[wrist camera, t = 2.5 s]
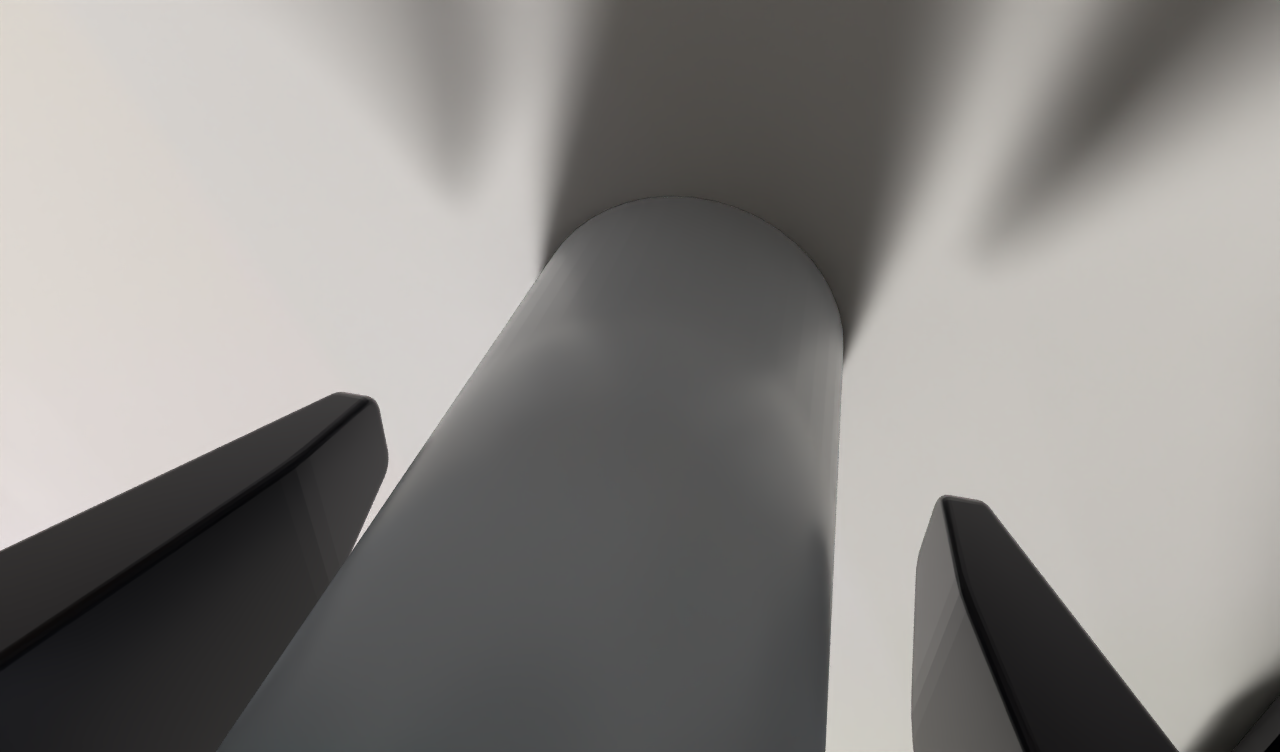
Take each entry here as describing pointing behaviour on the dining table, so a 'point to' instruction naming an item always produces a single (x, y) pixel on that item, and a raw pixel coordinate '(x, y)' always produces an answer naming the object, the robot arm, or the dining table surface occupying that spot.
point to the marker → (602, 520)
